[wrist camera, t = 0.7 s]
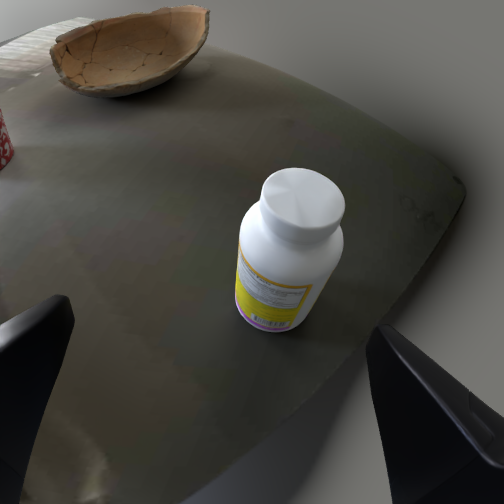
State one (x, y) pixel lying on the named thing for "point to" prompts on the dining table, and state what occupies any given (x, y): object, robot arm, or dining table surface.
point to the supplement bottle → (288, 248)
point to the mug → (4, 144)
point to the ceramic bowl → (129, 50)
